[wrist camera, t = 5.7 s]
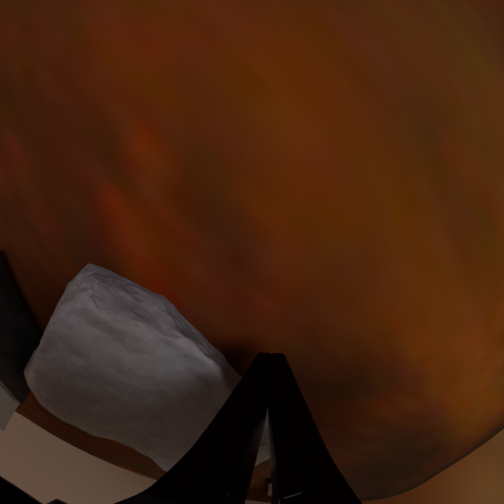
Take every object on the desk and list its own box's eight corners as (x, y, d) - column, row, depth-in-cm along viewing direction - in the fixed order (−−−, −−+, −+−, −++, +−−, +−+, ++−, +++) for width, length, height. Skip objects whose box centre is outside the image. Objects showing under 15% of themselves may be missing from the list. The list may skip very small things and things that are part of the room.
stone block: (112, 215, 11) (44, 344, 13) (48, 263, 6) (8, 399, 9) (312, 361, 14) (200, 438, 17) (335, 435, 10) (196, 496, 12)
